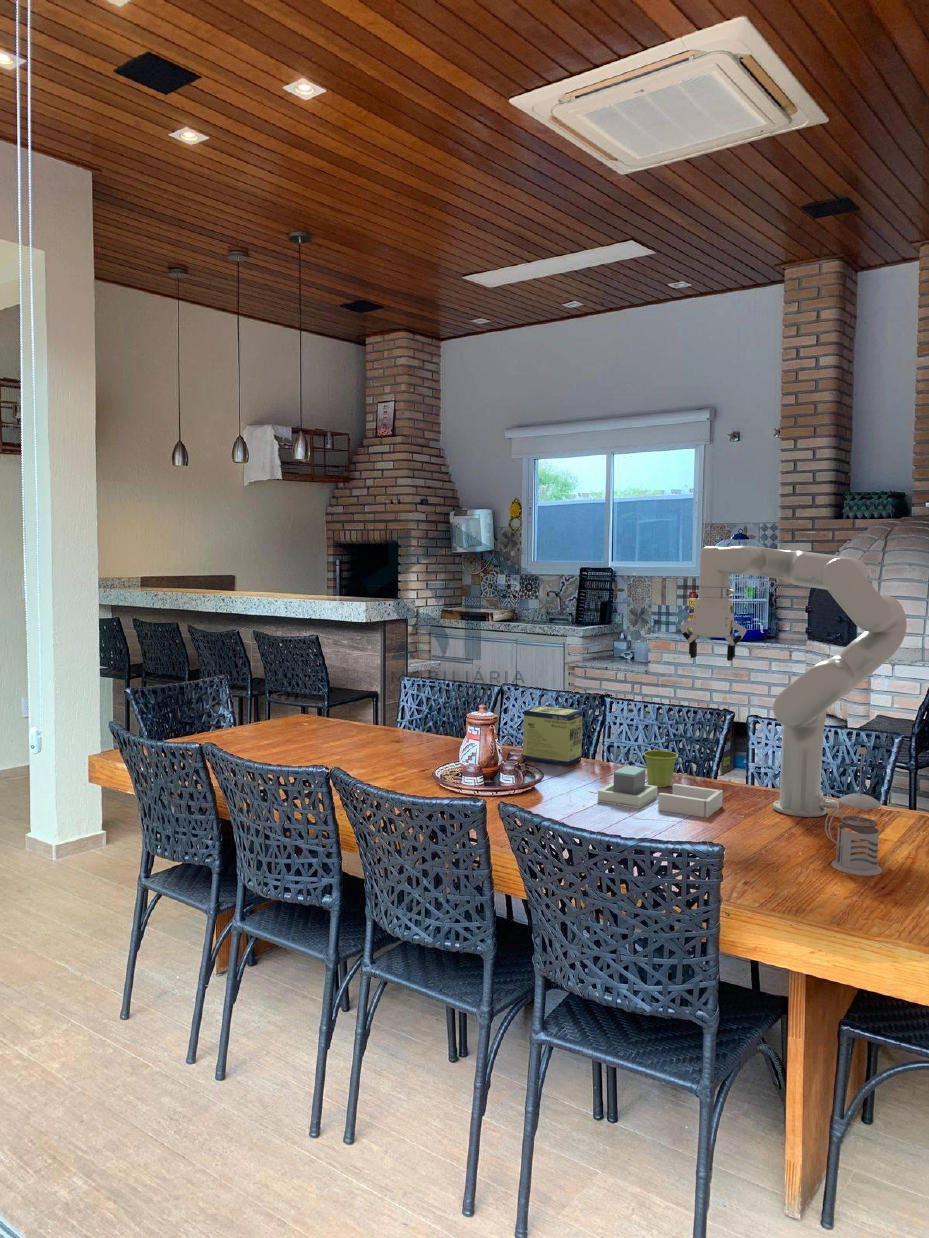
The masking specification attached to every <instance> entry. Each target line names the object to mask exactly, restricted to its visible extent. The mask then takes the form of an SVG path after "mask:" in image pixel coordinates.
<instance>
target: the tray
mask: <svg viewBox="0 0 929 1238" xmlns="http://www.w3.org/2000/svg"><path fill="white" fill-rule="evenodd" d="M613 787H614V781H613V782H611V783H610V784H608V785H606V786H604V787H602V788H600V789H598V790H597V802H598V801H599V803H604V802H605V803H604V804H610V805H616V804H620V805H619V806H623V805H625V806H624V807H629V808H636V809H640V808H642V807H644V806H645V805H647V804H648V803H650V802H651V801H652V800H654V799H656V798H657V797H658V787H657V786H653V785H649V784H646V783H645V791H643V792H642V793H640V794H638V795H630V794H624V793H618V792H613Z"/></svg>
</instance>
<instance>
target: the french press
mask: <svg viewBox="0 0 929 1238" xmlns="http://www.w3.org/2000/svg"><path fill="white" fill-rule="evenodd" d="M856 753H857V754H858V755H859V754H860V772H859V773H860V775H859V792H857V793H849V794H846V795H844V796H841V797H839V798H838V799H837V802H839V804H840V805H843V806H844V807H849V808H854V809H858V813H857V814H858V815H844V814H845V812H844V810H843V809H840V807H839V808H835V809H838V810H835V809H831V810H830V811H829V813H828V814H827V816H826V818H825V821H824V831H825V833H826V836H827V838H829V840H831V841H832V842H834V843H835V844H836V854H835V855H836V858H835V859H834V860H833V861H832V862H831V863H830V866H832V868H834V869H836V870H837V871H838V872H843V873H846V874H851V875H855V876H856V875H857V876H866V877H867V876H869V877H870V876H877V875H880V874H882V872H883V869H882V868H881V867H880V866H879V865H878V852H879V851H878V850H879V829H878V828H877V826H878V825H879V823H878V822H877V821H876V820H874V819H872V818H869V817H865V816H863V817H862V816H860V809H863V810H864V809H865V810H867V809H868V810H871V809H873V810H874V809H878V808H880V807H881V806H882V803H881V802H880V801H879V800H877V799H876V798H874V797H872V796H871V795H868V794H864V793H861V789H862V787H861V785H862V768H863V767H862V766H863V755H867V754H868V750H867V748H865V747H858V748H857V750H856ZM834 811H836V812H834ZM833 812H834V814H833V815H832V816H831V818H830V821H829V824H828V827H827V822H828V819H829V817H830V815H831V814H832V813H833ZM841 812H842V814H841ZM837 813H838V815H839V816H840V819H839V821H840V822H841V823H840V824H838V825H837V840H834V838H833V836H832V832H831V824H832V821H833V818H834V817H835V816H836V815H837ZM827 828H828V830H827ZM844 829H849V830H851V831H853V832H851V831H848V830H844ZM840 831H841V832H840ZM856 840H860V841H859V842H858V841H856ZM867 842H868V843H867ZM857 846H859V847H857ZM860 847H862V848H860ZM859 853H862V854H859Z"/></svg>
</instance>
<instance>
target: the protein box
mask: <svg viewBox="0 0 929 1238" xmlns="http://www.w3.org/2000/svg"><path fill="white" fill-rule="evenodd" d="M522 733H523V736H522V737H523V738H522V756H523V755H524V757H525V760H524V761H528V762H535V763H536V762H537V763H543V764H549V765H554V766H555V765H556V766H557V765H558V766H561V767H569V766H571V765H573V764H576V763H577V761H578V760H579V759H580V761H581V760H582V741H583V739H582V737H583V710H581V709H570V708H562V707H561V708H560V707H552V706H546V705H545V706H543V705H538V706H535V707H534V706H533V707H532V708H528V709H524V710H523V731H522ZM578 762H579V761H578Z"/></svg>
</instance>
